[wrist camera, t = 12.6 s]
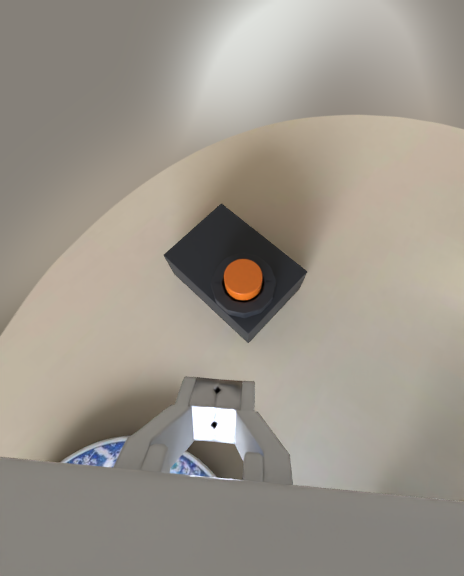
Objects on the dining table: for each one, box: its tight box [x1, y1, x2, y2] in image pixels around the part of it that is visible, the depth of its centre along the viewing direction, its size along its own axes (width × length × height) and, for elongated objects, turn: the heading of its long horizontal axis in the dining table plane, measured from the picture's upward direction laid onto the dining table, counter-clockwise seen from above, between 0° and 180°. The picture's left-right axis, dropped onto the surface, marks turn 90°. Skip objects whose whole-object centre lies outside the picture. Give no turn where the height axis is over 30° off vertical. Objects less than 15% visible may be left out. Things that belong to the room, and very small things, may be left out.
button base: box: [164, 204, 307, 343], centre depth 37 cm, size 14×10×8 cm
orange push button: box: [224, 259, 262, 301], centre depth 32 cm, size 4×4×2 cm
